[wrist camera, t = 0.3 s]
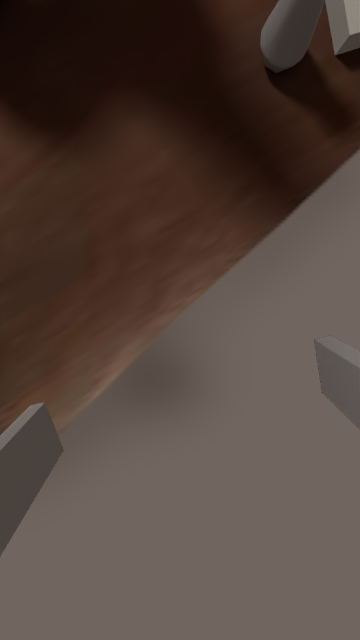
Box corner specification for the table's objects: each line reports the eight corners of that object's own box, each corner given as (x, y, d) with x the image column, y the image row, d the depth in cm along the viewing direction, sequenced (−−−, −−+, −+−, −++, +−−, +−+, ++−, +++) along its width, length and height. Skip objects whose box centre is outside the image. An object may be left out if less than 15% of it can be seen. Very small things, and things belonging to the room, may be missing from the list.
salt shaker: (258, 84, 36) (305, -25, 23) (251, 33, 35) (297, -110, 22) (303, 75, 36) (376, -39, 23) (298, 24, 35) (371, -124, 22)
